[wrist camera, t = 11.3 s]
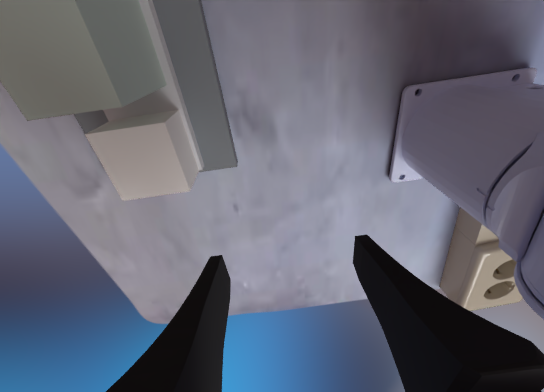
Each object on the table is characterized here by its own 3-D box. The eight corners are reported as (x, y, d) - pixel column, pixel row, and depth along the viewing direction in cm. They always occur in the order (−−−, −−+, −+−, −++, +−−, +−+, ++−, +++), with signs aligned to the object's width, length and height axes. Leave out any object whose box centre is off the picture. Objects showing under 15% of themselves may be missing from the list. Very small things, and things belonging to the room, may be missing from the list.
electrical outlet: (604, 167, 18) (522, 303, 28) (548, 148, 22) (493, 274, 31) (506, 189, 19) (459, 314, 28) (467, 166, 22) (437, 285, 32)
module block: (131, -22, 12) (44, -68, 7) (167, 85, 15) (122, 106, 10) (54, -10, 12) (-87, -47, 7) (103, 94, 15) (27, 120, 10)
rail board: (149, -226, 10) (79, -406, 6) (237, 161, 20) (233, 191, 16) (-80, -186, 10) (-296, -336, 6) (120, 178, 20) (86, 213, 16)
